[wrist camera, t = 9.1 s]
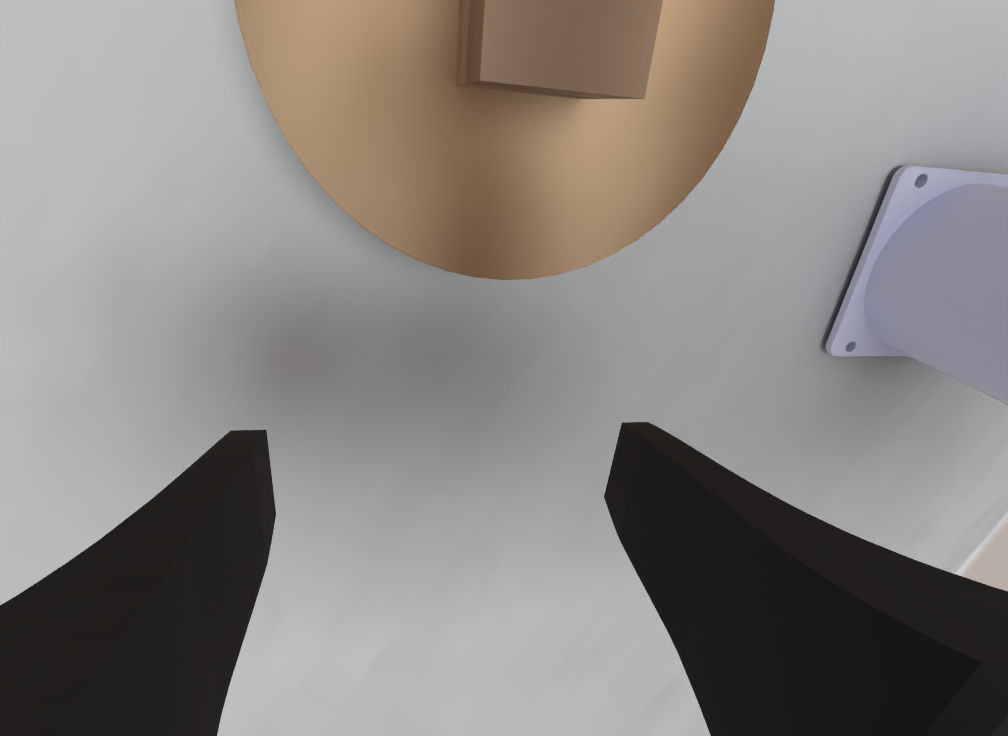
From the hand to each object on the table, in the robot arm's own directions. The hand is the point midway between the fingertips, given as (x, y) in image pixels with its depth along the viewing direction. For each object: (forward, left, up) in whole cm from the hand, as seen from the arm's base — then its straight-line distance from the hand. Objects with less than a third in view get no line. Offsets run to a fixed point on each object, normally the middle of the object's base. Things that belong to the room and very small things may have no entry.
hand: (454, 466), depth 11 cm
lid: (-2, -9, -6) cm, 10 cm away
